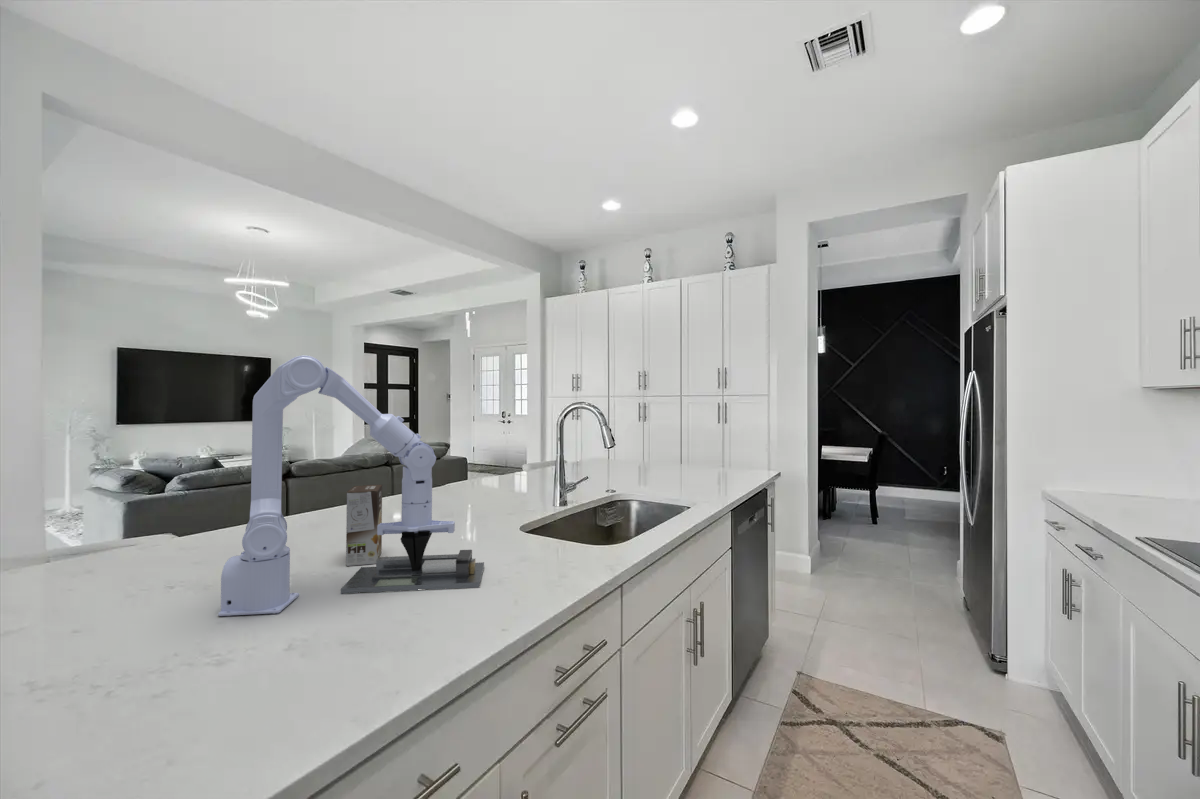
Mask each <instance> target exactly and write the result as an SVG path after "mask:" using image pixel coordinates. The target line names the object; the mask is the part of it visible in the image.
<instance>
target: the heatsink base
mask: <svg viewBox="0 0 1200 799" xmlns="http://www.w3.org/2000/svg"><path fill="white" fill-rule="evenodd" d="M450 559H456V573H446V574H422V565H423V563H424V561H425V560H450ZM470 559H473V549H460V550H459V552H458V553H455V554H431V555H429V554H428V555H425V554H423V558H422V563H421V568H420V570H419V571H412V568H411V563H410V560H409V557H408V555H402V556H401V555H400V556H396V555H395V556H380V557H379V558H378V559H377V560H376V564H375V566H362V567H360V568H359V569H358V570H357V571H356V572H355V573H354V574H353V575H352V576H351V577H350V579H349V580H348V581H347V582H346V583H345V584H344V585H343V586H341V588H340V595H343V594H342V593H351V594H361V593H360V592H373V593H383V592H382V591H394V592H403V591H402V590H416V591H419V590H418V589H437V590H452V589H451V588H458V589H473V588H474V589H478V588H480V585H481V582H482V577H483V573H484V570H483V569H485V562H475V572H474V574H469V561H470ZM445 588H446V589H445ZM449 588H450V589H449ZM400 590H401V591H400ZM358 592H359V593H358Z"/></svg>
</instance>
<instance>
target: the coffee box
mask: <svg viewBox="0 0 1200 799" xmlns="http://www.w3.org/2000/svg"><path fill="white" fill-rule="evenodd" d="M380 523H383V484H366V485H364V484H363V485H353V486H352V487H351V488H350V489H348V490H347V491H346V526H345V527H346V528H345V530H346V532H345V533H346V542H345V546H346V547H345V551H346V552H345V566H347V567H353V566H354V567H355V566H364V565H376V560H377V559H378V558H379V557H381V553H382V550H383V549H382V548H383V544H382V543H383V535H377V526H378V525H379V524H380Z"/></svg>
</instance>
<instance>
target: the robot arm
mask: <svg viewBox="0 0 1200 799" xmlns="http://www.w3.org/2000/svg"><path fill="white" fill-rule="evenodd" d="M318 388H320V389H319V391H318V394H319V395H323V396H327V397H332V398H335V399H336V400H337V401H338V402H340V403H341V404H343V405H344V406H345V407H346V408H347V409H348V410H350V411H351V412H352V413H354V414H355V415H356V416H357V417H359V419H361V420H362V421H363V422H365V423H366V424H368V426H369V435H370V438H372V439H373V440H375V441H376V442H377V443H378V445H379V444H380V445H381V447H383V448H384V449H385V450H387V452H389V453H390V454H391V455H393V456H394V457H396V458H398V460H399V462H400V464H401V465H403V466H402V478H401V521H393V522H382V523H380V524H379V525H378V526H377V535H382V536H384V535H397V534H398V535H400V534H401V537H400V542H401V544H402V546H403V547H404V549H405V551H406V554H407V556H408V557H409V560H410V563H411V568H412V571H419V570H420V568H421V563H422V558H423V555H425V551H426V548H427V545H428V544H429V540H430V538H431V537H432V534H435V533H438V534H439V533H448V534H454V532H455V531H456V529H455V528H456V524H455V523H456V521H455V520H435V519H432V518H433V515H432V514H433V476H432V474H433V472H432V471H433V470H432V468H433V467H434V466H435V463H436V460H437V456H436V455H435V452H434V451H435V450H434V449H433V447H432V446H431V445H430V444H428V443H425V442H424V441H422V440H421V438H422V436H421V435H420V434H419V433H415V432H414V431H413V430H412V429H410V428H409V427H408V426H406V424H404V423H403V422H404V421H405V419H404V418H402V417H401V416H400V415H397V416H395V415H394V414H393V413H382V412H381V411H379V410H378V409H377V407H376V406H374V405H373V404H372V403H371V402H370V401H369V400H367V398H366V397H364V396H363V395H362V394H361V392H359V391H358V390H357V389H356V388H355V387H354V386H353V385H351V383H350V382H348V381H347V380H346V379H345V378H344V377H343V376H341V375H339V373H337V372H336V371H334V370H333V369H331V367H328V366H324V364H323V363H322V362H321V361H320V360H319V359H317V357H314V356H313V355H303V354H302V355H297V356H294V357H293V358H290V359H289V360H287V361H286V362H284V363H282V364H281V365H278V367H277V368H276V369H275V371H274V372H272V374H271V375H270V376H269V377H268V379H267V380H266V381H265V382H264V384H263V385H262V386H261V387H260V388H259V390H257V392H256V393H255V394H254V395H253V399H252V421H251V422H252V424H251V425H252V427H251V428H252V429H251V431H252V432H251V470H250V471H251V474H250V476H251V477H250V478H251V479H250V480H251V482H250V483H251V484H250V485H251V486H250V507H249V508H250V509H249V521H248V522H247V523H246V525H245V532H244V534H243V535H242V540H241V545H242V549H243V551H242V552H241V553H240V555H232V556H230V557H229V558H228V559H227V561H225V563H224V565H223V568H222V572H221V575H220V611H219V612H218V613H217V616H219V617H220V616H221V617H223V616H226V617H227V616H244V615H245V616H246V615H262V614H264V615H267V614H279V613H281V612H282V611H283V610H285V609H286V607H288V606H290V604H292V602H294V600H296V599H298V597H299V596H300V593H299V592H291V591H290V590H291V587H290V586H291V585H290V584H291V582H290V581H291V580H290V579H291V578H290V577H291V575H290V574H291V548H290V546H287V541H288V533H287V531H288V523H287V520H286V518H285V516H284V515H283V513H282V492H283V491H282V487H283V486H282V480H283V430H284V429H283V427H284V426H283V425H284V424H283V423H284V422H283V419H284V409H285V408H286V407H288V406H289V405H290V404H291V403H293V402H294V401H295V400H297V399H298V397H300V396H303V395H306V394H308V393H311V392H313V391H315V390H317V389H318Z"/></svg>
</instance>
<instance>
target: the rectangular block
mask: <svg viewBox="0 0 1200 799" xmlns="http://www.w3.org/2000/svg"><path fill="white" fill-rule="evenodd" d="M475 563H476V558H472V559H470V561H469V574H474V572H475ZM446 573H456V559H450V560H425V561H424V563H423V565H422V574H446Z"/></svg>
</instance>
